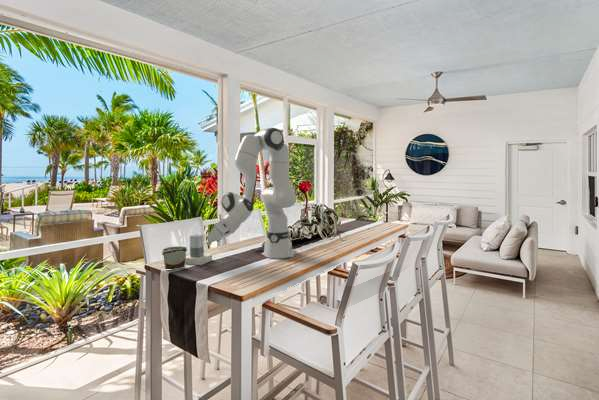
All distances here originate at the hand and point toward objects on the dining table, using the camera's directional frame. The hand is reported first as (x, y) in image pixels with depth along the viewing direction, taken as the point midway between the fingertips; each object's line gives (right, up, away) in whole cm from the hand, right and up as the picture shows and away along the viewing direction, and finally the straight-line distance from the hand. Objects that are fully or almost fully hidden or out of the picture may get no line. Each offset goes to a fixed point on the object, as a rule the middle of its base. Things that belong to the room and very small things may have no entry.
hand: (212, 242), depth 182 cm
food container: (-17, -11, -9) cm, 23 cm away
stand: (-9, -10, +3) cm, 14 cm away
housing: (-9, -7, +2) cm, 12 cm away
